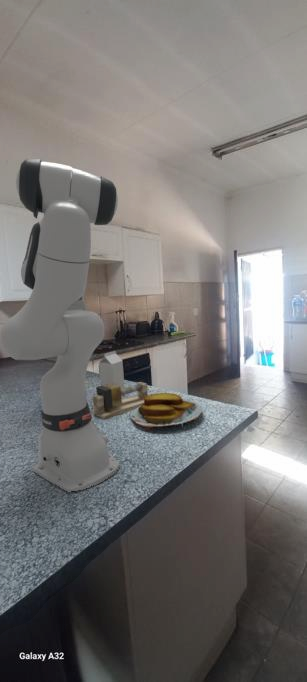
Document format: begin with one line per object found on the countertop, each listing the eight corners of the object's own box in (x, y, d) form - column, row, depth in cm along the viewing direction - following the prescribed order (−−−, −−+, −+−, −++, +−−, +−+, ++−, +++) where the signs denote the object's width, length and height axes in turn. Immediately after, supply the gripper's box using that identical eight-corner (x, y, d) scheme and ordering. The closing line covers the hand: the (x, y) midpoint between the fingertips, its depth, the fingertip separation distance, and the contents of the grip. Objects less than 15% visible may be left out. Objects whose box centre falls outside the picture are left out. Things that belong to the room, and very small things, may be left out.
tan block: (121, 404, 108) (120, 386, 107) (112, 407, 105) (111, 388, 104) (112, 400, 113) (111, 382, 111) (103, 403, 110) (101, 385, 109)
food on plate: (152, 442, 85) (151, 420, 84) (118, 415, 106) (117, 397, 105) (219, 419, 97) (218, 400, 96) (176, 399, 119) (175, 383, 118)
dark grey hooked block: (112, 407, 105) (111, 388, 104) (107, 409, 104) (105, 390, 103) (103, 403, 110) (101, 385, 109) (97, 404, 108) (96, 386, 107)
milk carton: (125, 394, 127) (121, 351, 124) (114, 399, 121) (111, 354, 119) (112, 392, 131) (109, 350, 128) (101, 397, 125) (97, 353, 122)
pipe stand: (151, 402, 116) (150, 384, 114) (103, 420, 102) (101, 399, 100) (138, 397, 122) (136, 380, 121) (90, 413, 108) (89, 394, 107)
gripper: (35, 298, 103) (40, 337, 105) (87, 295, 116) (90, 330, 118) (29, 298, 108) (34, 335, 110) (80, 296, 121) (83, 329, 123)
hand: (63, 332), depth 114 cm, fingers closed
